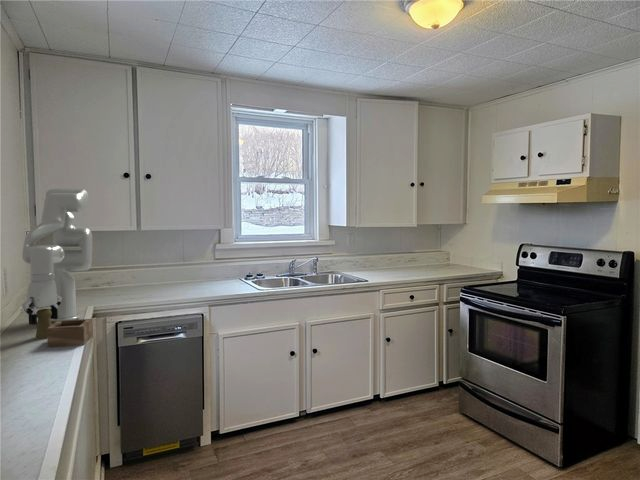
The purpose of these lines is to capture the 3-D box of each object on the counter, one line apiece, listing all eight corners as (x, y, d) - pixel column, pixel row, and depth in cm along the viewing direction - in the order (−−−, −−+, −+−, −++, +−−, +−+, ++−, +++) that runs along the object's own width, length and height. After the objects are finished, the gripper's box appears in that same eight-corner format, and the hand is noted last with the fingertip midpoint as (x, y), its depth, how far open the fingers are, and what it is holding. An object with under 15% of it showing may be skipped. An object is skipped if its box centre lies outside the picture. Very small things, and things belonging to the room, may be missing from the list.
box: (59, 337, 170) (58, 320, 169) (92, 336, 173) (92, 318, 172) (47, 347, 158) (47, 328, 158) (83, 345, 161) (83, 326, 161)
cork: (56, 334, 175) (56, 307, 174) (48, 339, 168) (47, 311, 168) (41, 334, 174) (40, 307, 174) (32, 339, 168) (31, 311, 168)
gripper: (52, 275, 179) (53, 316, 180) (14, 280, 162) (15, 326, 163) (68, 275, 177) (69, 317, 178) (31, 281, 160) (32, 327, 161)
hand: (43, 321), depth 170 cm, fingers open, 9 cm apart
